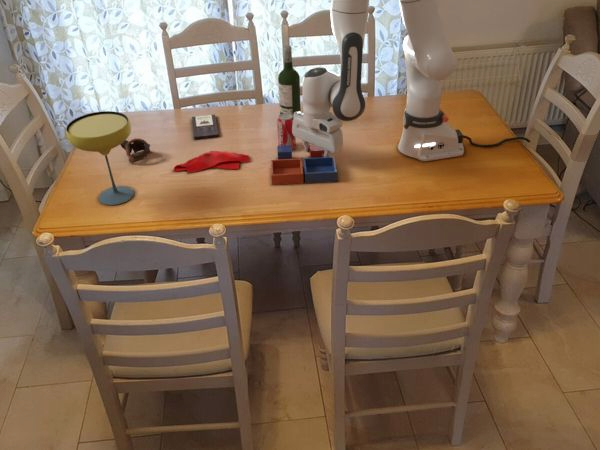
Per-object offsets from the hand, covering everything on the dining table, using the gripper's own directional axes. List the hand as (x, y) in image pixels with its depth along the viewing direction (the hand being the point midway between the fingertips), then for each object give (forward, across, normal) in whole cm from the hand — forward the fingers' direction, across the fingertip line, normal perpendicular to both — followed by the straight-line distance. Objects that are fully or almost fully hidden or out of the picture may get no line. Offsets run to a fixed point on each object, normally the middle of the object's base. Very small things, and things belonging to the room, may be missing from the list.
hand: (316, 155), depth 192 cm
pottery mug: (+2, -49, -40) cm, 64 cm away
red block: (+2, 0, 0) cm, 2 cm away
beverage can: (+2, -14, 0) cm, 14 cm away
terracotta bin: (+2, 0, -14) cm, 15 cm away
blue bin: (+2, +7, -7) cm, 10 cm away
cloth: (+2, -26, -25) cm, 36 cm away
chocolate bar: (+2, -49, -10) cm, 50 cm away
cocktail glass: (+2, -32, -59) cm, 67 cm away
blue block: (+2, -8, -8) cm, 11 cm away
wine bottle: (+2, -27, +14) cm, 30 cm away
